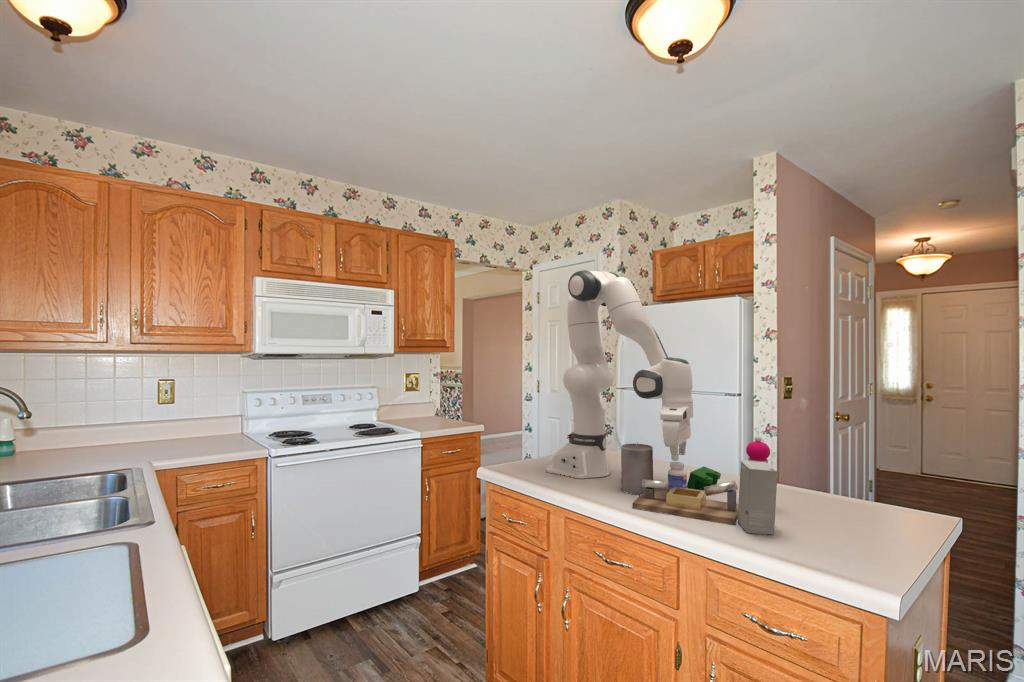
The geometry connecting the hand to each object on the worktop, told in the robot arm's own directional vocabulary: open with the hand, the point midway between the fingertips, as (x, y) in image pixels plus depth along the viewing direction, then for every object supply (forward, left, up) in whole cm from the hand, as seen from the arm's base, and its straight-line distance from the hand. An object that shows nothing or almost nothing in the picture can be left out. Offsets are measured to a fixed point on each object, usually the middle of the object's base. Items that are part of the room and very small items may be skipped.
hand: (678, 457), depth 150 cm
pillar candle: (-12, -1, -12) cm, 17 cm away
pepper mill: (+21, -1, -12) cm, 25 cm away
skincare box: (+23, -19, -12) cm, 32 cm away
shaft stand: (+5, -12, -11) cm, 17 cm away
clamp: (+5, +12, -12) cm, 18 cm away
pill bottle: (-1, 0, -12) cm, 12 cm away
